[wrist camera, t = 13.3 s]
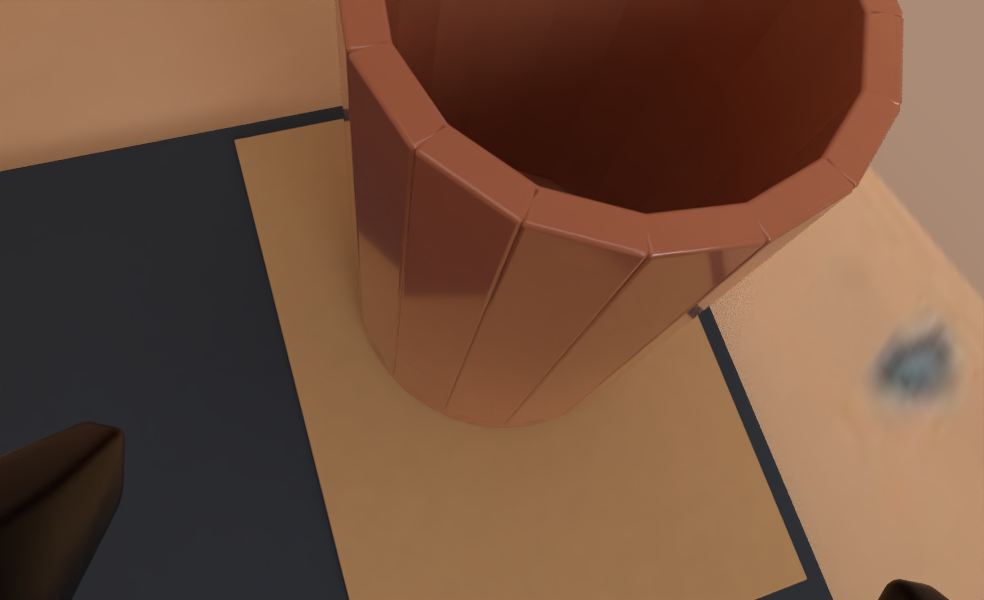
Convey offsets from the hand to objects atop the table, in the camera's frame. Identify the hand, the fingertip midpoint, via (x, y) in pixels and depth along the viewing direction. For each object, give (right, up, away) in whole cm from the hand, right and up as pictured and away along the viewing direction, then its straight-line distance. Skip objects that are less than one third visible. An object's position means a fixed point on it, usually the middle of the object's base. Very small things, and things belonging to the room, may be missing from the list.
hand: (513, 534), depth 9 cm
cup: (0, +3, +9) cm, 10 cm away
